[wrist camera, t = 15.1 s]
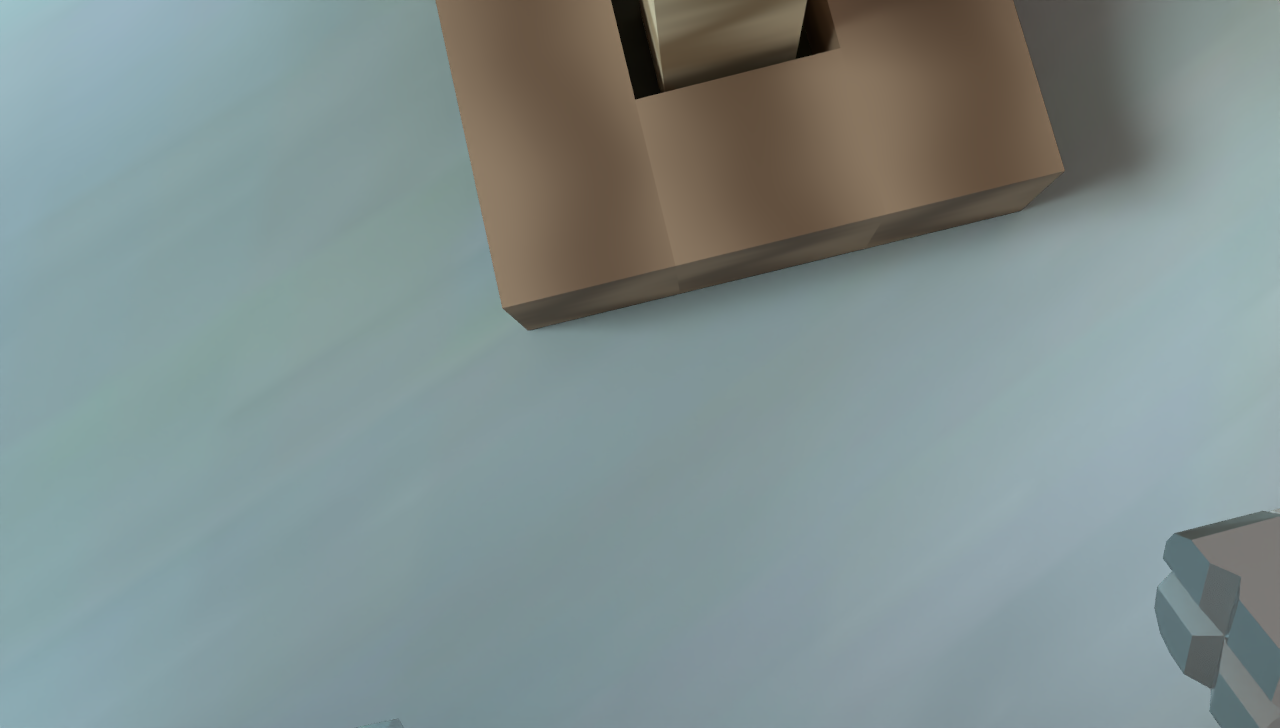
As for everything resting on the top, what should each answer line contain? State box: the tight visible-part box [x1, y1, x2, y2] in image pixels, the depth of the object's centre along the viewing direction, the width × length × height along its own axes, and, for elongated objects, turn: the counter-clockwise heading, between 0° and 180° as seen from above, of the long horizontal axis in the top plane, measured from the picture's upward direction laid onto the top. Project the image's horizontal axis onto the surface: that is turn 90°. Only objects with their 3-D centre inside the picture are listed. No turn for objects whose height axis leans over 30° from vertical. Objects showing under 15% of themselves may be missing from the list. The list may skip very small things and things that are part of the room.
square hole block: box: [436, 0, 1065, 330], centre depth 31 cm, size 16×16×4 cm
